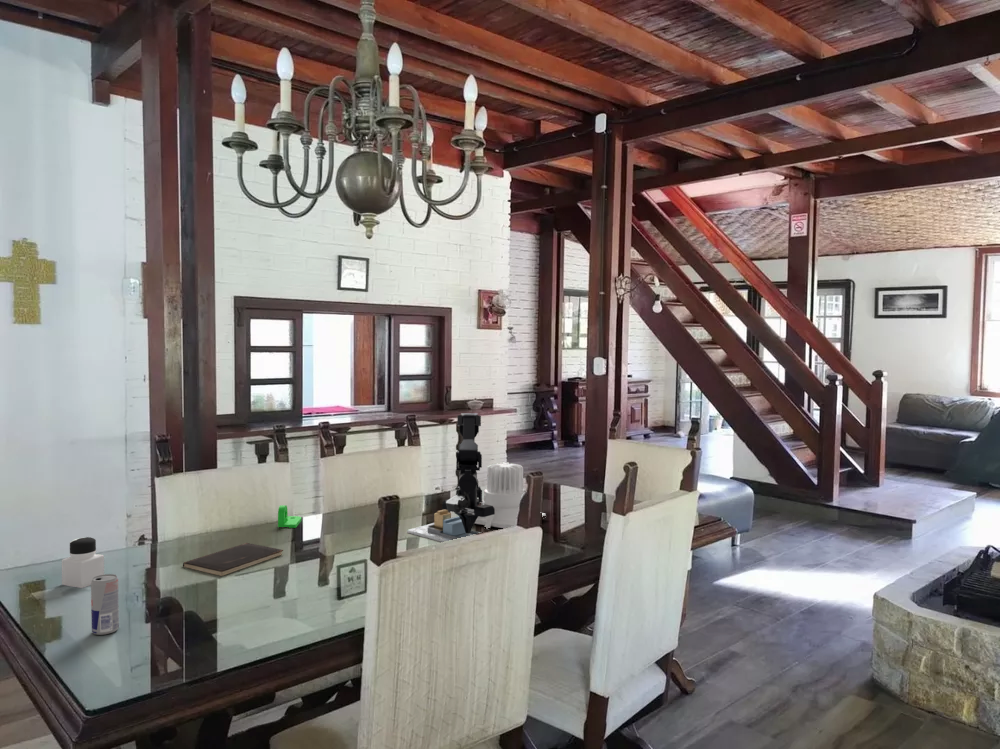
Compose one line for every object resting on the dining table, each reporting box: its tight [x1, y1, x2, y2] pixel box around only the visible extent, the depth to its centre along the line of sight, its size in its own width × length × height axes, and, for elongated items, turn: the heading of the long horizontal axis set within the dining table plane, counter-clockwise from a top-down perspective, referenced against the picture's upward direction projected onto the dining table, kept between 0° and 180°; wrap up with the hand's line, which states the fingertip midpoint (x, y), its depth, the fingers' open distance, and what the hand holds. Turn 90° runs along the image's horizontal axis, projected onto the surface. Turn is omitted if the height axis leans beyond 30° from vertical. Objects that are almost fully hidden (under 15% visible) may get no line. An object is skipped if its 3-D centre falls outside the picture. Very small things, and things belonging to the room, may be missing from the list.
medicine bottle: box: [61, 536, 105, 589], centre depth 193 cm, size 7×7×12 cm
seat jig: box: [406, 522, 481, 543], centre depth 245 cm, size 14×22×3 cm, turn 50°
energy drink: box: [90, 573, 120, 636], centre depth 162 cm, size 5×5×12 cm
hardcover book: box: [182, 542, 284, 577], centre depth 214 cm, size 16×23×2 cm
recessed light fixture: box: [474, 461, 547, 529], centre depth 262 cm, size 25×22×21 cm
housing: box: [443, 515, 466, 536], centre depth 242 cm, size 7×4×5 cm, turn 140°
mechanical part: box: [277, 504, 302, 529], centre depth 256 cm, size 12×6×8 cm, turn 4°
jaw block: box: [433, 509, 452, 530], centre depth 245 cm, size 4×4×7 cm
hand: (467, 533), depth 238 cm, fingers closed
